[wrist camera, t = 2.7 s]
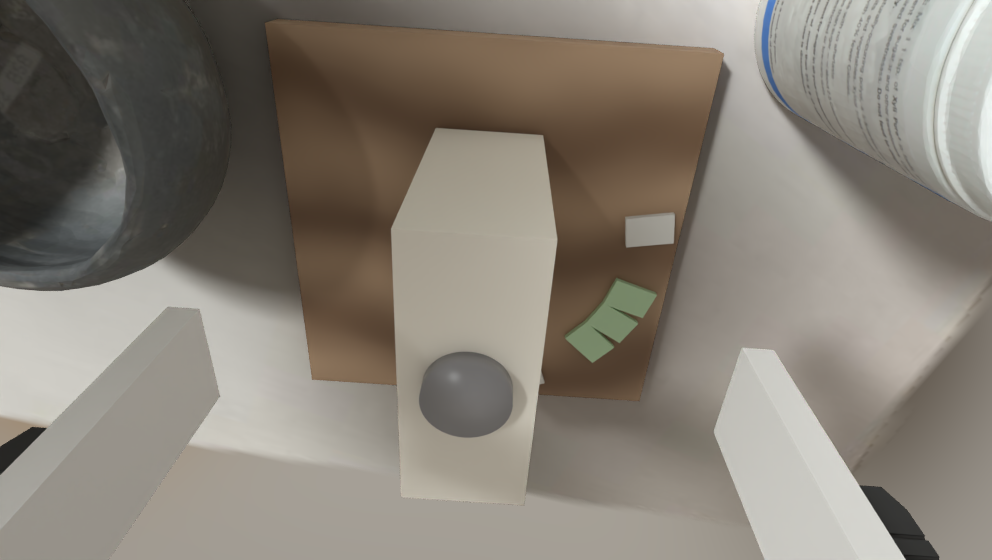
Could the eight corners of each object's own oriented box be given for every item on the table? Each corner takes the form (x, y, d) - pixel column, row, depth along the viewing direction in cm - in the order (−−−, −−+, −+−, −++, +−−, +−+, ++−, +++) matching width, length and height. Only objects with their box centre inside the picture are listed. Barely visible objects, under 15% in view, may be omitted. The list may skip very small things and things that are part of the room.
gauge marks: (470, 198, 29) (469, 200, 28) (679, 212, 29) (680, 215, 29) (462, 385, 35) (462, 388, 35) (635, 397, 35) (636, 400, 35)
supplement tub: (778, 151, 29) (985, 317, 16) (719, -40, 25) (936, -24, 12) (993, 54, 26) (1446, 158, 13) (968, -178, 22) (1584, -345, 9)
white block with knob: (435, 127, 27) (385, 240, 17) (543, 135, 27) (558, 252, 17) (434, 388, 35) (399, 572, 24) (517, 393, 35) (516, 580, 25)
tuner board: (277, 18, 26) (263, 23, 25) (713, 48, 26) (725, 54, 25) (319, 363, 36) (311, 381, 35) (634, 384, 36) (639, 402, 35)
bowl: (39, 219, 32) (-139, 321, 23) (-113, -104, 24) (-459, -130, 16) (302, 214, 31) (220, 317, 23) (230, -119, 24) (65, -155, 15)
